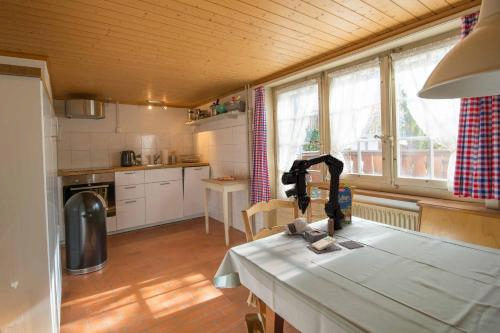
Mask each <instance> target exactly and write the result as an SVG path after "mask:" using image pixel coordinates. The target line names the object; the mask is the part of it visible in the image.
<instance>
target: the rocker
mask: <svg viewBox="0 0 500 333" xmlns="http://www.w3.org/2000/svg"><path fill="white" fill-rule="evenodd" d="M337 242H338V241H337V239H336V238H334V237H329V236H328V235H327V237H325V238H323V239H321V240H319V241H317V242H315V243H311V245H312V247H314V248H316V249H317V250H319V251H320V250H322V249H324V248H326V247H328V246H330V245H332V244H334V245H335V243H337Z"/></svg>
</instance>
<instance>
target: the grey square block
mask: <svg viewBox="0 0 500 333" xmlns="http://www.w3.org/2000/svg"><path fill="white" fill-rule="evenodd" d="M313 232H317V234H314V233H313ZM327 236H328V232H324V231H323V230H321V229H319V228H316V229H313V230H308V231H305V233H304V239H305V240H307V241H308V242H310V243H311V244H313V243H315V242H317V241H319V240H321V239H323V238H325V237H327Z"/></svg>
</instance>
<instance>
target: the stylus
mask: <svg viewBox="0 0 500 333" xmlns="http://www.w3.org/2000/svg"><path fill="white" fill-rule="evenodd" d="M327 236H329V237H332V238H334V230H333V219H329V218H328V219H327Z"/></svg>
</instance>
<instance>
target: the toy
mask: <svg viewBox="0 0 500 333" xmlns="http://www.w3.org/2000/svg"><path fill="white" fill-rule="evenodd" d="M282 230H285V231H284V234H287V235H293V234H298V235H299V236H301V235H303V234H305V231H308V230H314V229H313V228H311V227H310V226H309V224H307V218H305V217H297V218H295V219H294V220H293V222H291V223H286V225H284V227H283V228H282Z"/></svg>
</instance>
